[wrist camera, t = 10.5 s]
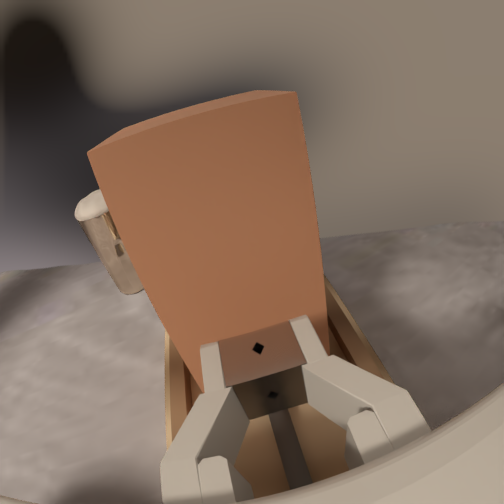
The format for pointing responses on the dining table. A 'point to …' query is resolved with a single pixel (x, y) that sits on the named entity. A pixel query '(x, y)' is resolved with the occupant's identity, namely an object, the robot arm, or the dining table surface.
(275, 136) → the panel
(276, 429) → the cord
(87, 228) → the milkshake
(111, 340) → the dining table surface
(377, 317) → the dining table surface
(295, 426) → the channel
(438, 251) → the dining table surface
